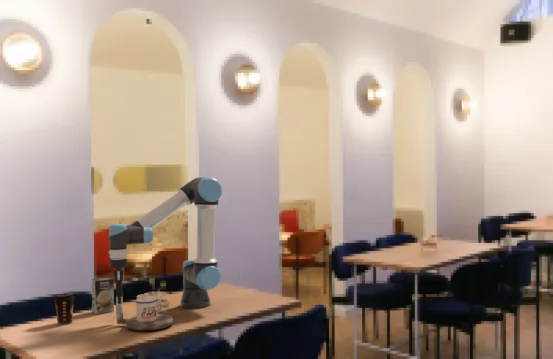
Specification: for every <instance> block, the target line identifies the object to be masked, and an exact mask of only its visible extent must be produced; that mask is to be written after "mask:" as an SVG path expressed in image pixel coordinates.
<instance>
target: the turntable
mask: <svg viewBox="0 0 553 359" xmlns="http://www.w3.org/2000/svg"><path fill="white" fill-rule="evenodd" d="M115 312H116V313H115V314H116V316H115V317H116V325H125V327H126V328H127V329H128V330H134V331H140V330H151V331H156V330H155V329H158V330H161V329H164V328H168V327H170V326H172V325H173V322H174V319H173V317H172V316H171V315H167V314H160V313H157V319H156V320H154V321H151V322H139V321H137V315H136V316H133V317H129V318H124V304H123V305H115Z"/></svg>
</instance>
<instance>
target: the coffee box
mask: <svg viewBox="0 0 553 359" xmlns="http://www.w3.org/2000/svg"><path fill="white" fill-rule="evenodd" d="M114 282H115V278H112V277H103V278H102V277H100V278H92V279H91V313H93V314H95V315H98V314H106V313H112V311H114V312H115V298H114V297H115V294H114V290H115V288H114V287H115V286H114Z"/></svg>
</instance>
